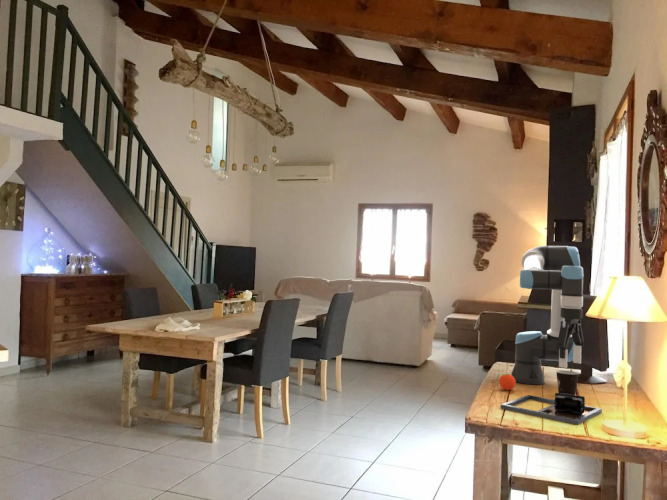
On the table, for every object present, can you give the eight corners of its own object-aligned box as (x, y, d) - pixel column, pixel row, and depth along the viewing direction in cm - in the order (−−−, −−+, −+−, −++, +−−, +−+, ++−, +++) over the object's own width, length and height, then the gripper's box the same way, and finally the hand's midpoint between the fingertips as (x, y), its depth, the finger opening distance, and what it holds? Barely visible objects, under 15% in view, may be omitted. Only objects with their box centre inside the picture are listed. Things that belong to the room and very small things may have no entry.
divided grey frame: (528, 398, 232) (528, 394, 232) (601, 412, 212) (601, 408, 212) (500, 408, 214) (500, 404, 214) (577, 424, 195) (577, 420, 195)
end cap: (584, 413, 209) (585, 395, 209) (582, 417, 203) (583, 398, 203) (555, 409, 214) (556, 391, 214) (553, 413, 208) (553, 394, 208)
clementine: (495, 390, 245) (496, 374, 245) (496, 387, 252) (497, 371, 252) (515, 392, 242) (515, 375, 243) (515, 389, 249) (516, 372, 249)
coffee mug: (557, 392, 244) (558, 369, 244) (579, 395, 240) (579, 372, 240) (553, 398, 234) (553, 373, 234) (575, 401, 230) (576, 376, 230)
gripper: (573, 305, 221) (572, 359, 221) (547, 308, 203) (546, 367, 203) (593, 306, 216) (592, 362, 216) (568, 309, 198) (567, 370, 197)
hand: (570, 365), depth 209 cm, fingers open, 13 cm apart
